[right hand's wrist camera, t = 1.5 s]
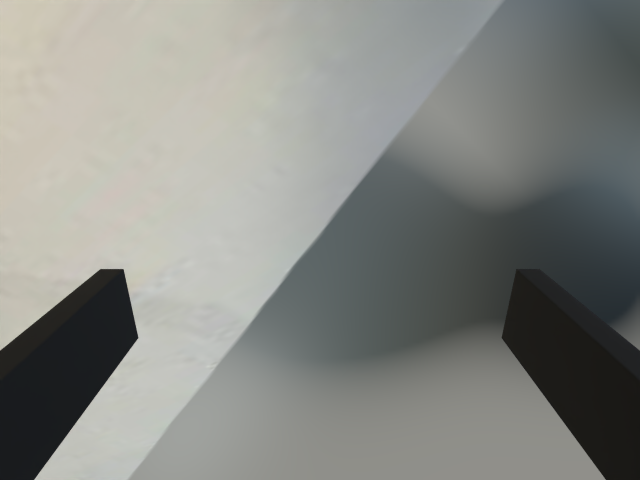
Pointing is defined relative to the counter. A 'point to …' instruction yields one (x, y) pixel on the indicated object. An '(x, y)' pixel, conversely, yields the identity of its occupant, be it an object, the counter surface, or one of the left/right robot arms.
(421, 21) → the counter surface
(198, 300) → the counter surface
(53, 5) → the counter surface
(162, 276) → the counter surface
